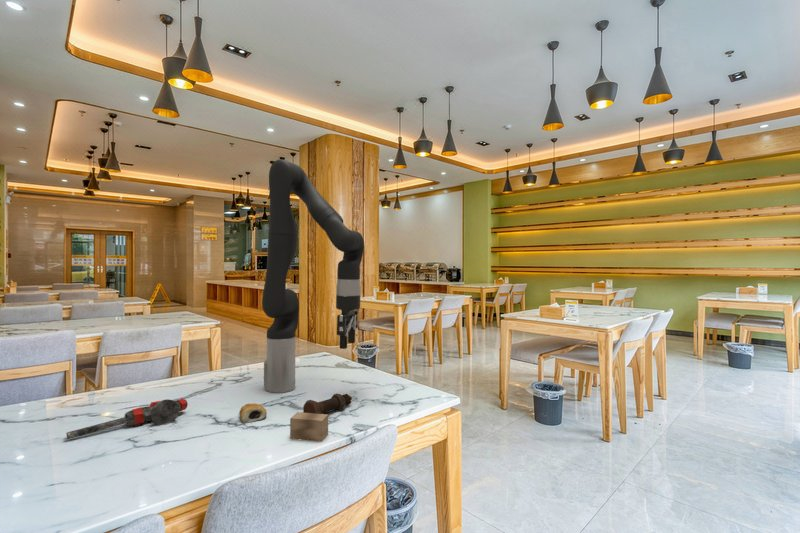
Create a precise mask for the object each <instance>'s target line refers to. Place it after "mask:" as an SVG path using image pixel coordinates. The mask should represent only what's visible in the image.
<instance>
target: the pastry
mask: <svg viewBox="0 0 800 533" xmlns="http://www.w3.org/2000/svg"><path fill="white" fill-rule="evenodd" d="M267 414H268V412H267V410H266V408H265V407H264V406H263V405H262V404H259V403H255V402H254V403H246V404H244V405H242V406H241V408H240V410H239V413H238V415H239V417H240V420H241V422H242V423H244V424H247V423H248V424H250V423H253V422H258V420H259V421H261V420H264V419H265V418H266V416H267Z"/></svg>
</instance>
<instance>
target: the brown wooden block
mask: <svg viewBox="0 0 800 533" xmlns="http://www.w3.org/2000/svg"><path fill="white" fill-rule="evenodd" d="M289 422H290V423H289V428H290V429H289V440H298V439H301V440H302V441H310V442H311V441H313V442H320V443H321V442H323V441H324V440H325V439H326V438H327V437H328V435H329V414H327V413H323V414H315V413H303V412H299V411H298V412H296V413H294V415H292V416H291V417H290V418H289ZM301 440H300V441H301Z"/></svg>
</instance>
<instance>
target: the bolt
mask: <svg viewBox="0 0 800 533" xmlns="http://www.w3.org/2000/svg"><path fill="white" fill-rule="evenodd" d="M352 401H353V397H352V396H351V395H349V394H348V393H345V394H341V393H338V392H337V393H334V394H332V395H331V398H328V399H324V400H322V401H319V402H318V401H315V400H314V399H309V400H308V399H307V400H306V401H305V403H304V405H303V409H302V410H303V412H302V413H315V414H326V413H328V412H333V411H337V412H340V411H342V410H344V408H346V406H349V405H351V403H352Z"/></svg>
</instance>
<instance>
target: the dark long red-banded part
mask: <svg viewBox="0 0 800 533" xmlns="http://www.w3.org/2000/svg"><path fill="white" fill-rule="evenodd" d="M187 408H188V401H187V400H186V399H185V398H183V397H182V398H180V399H177V400H173V399H169V398H168V399H163V400H157V401H151V402H150V404H149V405H148V406H142V407H137V408H134V409H131V410H129V411H126V412H125V413H124V417H120V418H117V419H112V420H109V421H106V422H101V423H98V424H94V425H90V426H86V427H83V428H79V429H75V430H71V431H67V432H65V433H66V440H70V439H72V438H77V437H80V436H84V435H88V434H91V433H96V432H98V431H99V432H100V431H103V430H107V429H110V428H113V427H116V426H120V425H124V424H126V426H128V427H136V426H137V427H138V426H141V425H144V423H145V422H149V421H152V422H153V423H154V424H155V425H158V426H163V425H167V424H171V423H173V422H175V420H176V419H177V418H178V417H179V414H180V412H182V411H184V410H186V409H187Z"/></svg>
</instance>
